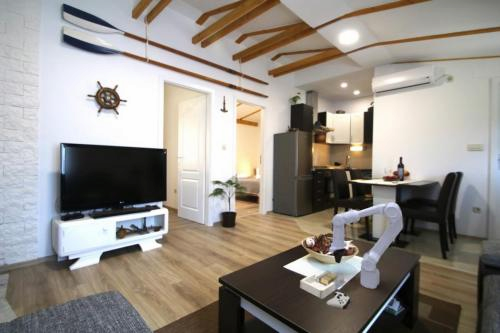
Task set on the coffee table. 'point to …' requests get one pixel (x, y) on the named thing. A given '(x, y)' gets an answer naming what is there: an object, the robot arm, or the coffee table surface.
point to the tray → (316, 287)
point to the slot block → (338, 281)
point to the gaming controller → (339, 300)
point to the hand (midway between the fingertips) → (337, 262)
